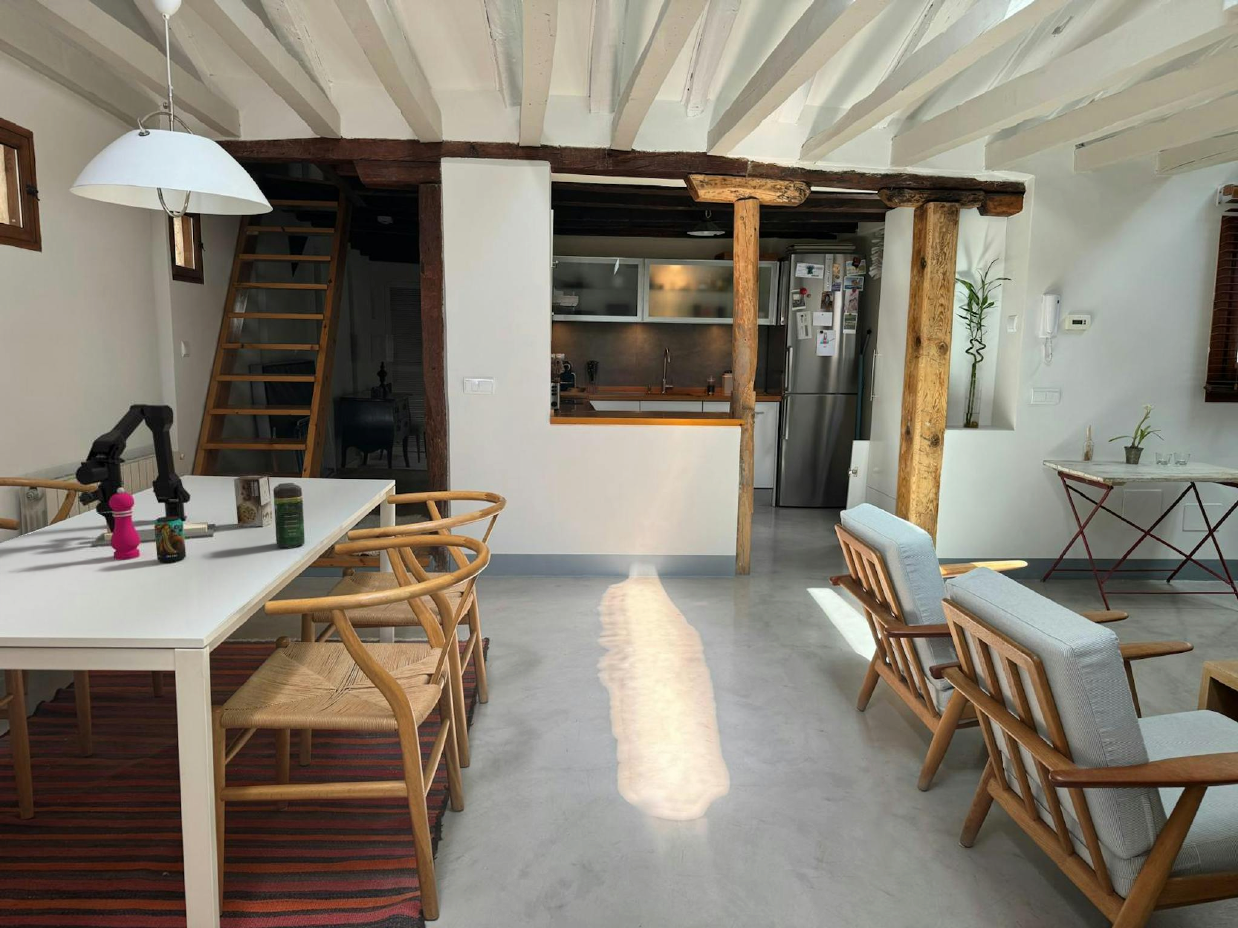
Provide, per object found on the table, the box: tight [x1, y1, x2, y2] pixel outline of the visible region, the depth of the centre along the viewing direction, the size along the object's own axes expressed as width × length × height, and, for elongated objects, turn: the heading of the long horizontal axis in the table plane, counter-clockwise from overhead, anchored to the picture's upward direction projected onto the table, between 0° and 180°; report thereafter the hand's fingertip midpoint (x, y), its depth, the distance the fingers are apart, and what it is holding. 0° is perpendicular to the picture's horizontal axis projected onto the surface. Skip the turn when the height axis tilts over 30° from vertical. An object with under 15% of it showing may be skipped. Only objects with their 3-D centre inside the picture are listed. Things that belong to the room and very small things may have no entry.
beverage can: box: [153, 516, 187, 564], centre depth 224 cm, size 7×7×12 cm
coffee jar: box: [272, 482, 306, 549], centre depth 240 cm, size 10×8×19 cm
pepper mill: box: [109, 487, 141, 561], centre depth 226 cm, size 7×7×20 cm
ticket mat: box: [92, 521, 216, 548], centre depth 252 cm, size 16×32×2 cm, turn 114°
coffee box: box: [233, 475, 273, 527], centre depth 267 cm, size 9×6×16 cm
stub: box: [104, 520, 113, 540], centre depth 248 cm, size 8×6×6 cm
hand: (115, 529), depth 248 cm, fingers open, 9 cm apart
